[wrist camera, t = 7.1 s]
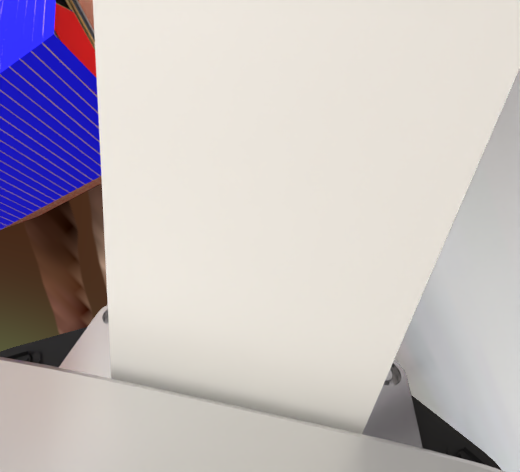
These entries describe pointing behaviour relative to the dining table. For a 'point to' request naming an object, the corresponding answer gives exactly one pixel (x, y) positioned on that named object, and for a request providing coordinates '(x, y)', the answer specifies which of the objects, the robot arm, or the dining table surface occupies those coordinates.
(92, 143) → the blue shipping container
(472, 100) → the white block
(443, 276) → the dining table surface
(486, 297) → the dining table surface
